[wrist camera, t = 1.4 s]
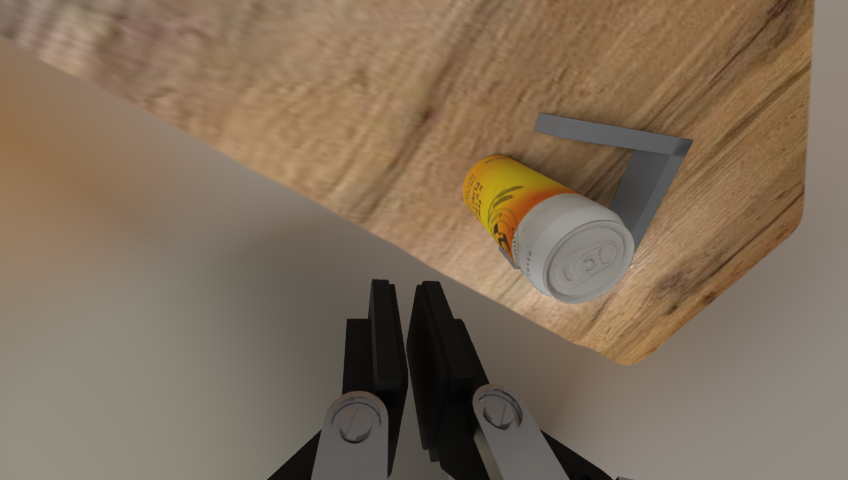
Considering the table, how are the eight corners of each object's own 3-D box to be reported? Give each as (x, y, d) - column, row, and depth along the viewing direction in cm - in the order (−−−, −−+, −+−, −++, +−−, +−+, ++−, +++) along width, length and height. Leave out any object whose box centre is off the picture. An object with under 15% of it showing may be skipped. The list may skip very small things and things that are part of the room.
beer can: (449, 173, 29) (523, 252, 16) (507, 141, 28) (634, 193, 15) (474, 223, 32) (554, 325, 18) (527, 194, 31) (647, 277, 18)
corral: (655, 133, 30) (693, 140, 27) (598, 254, 36) (624, 273, 33) (539, 113, 27) (565, 117, 24) (498, 249, 34) (514, 268, 30)
